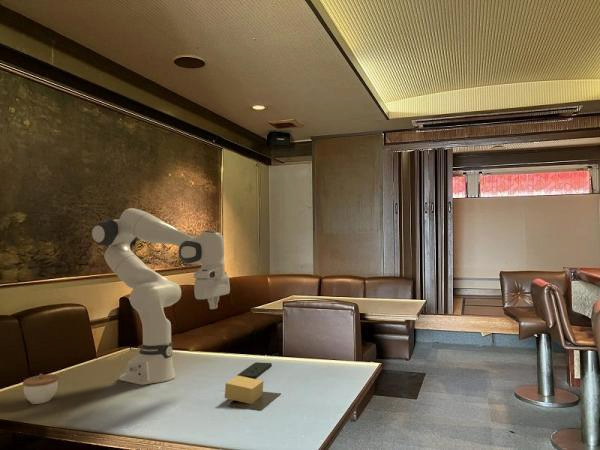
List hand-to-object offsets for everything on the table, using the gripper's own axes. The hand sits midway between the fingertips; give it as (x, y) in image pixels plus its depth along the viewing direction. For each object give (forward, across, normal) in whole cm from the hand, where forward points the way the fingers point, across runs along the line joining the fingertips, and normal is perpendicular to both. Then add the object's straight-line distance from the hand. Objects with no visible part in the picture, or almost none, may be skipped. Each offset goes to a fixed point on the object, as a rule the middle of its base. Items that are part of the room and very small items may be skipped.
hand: (213, 308), depth 168 cm
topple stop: (+29, +10, +21) cm, 37 cm away
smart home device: (+30, -21, +7) cm, 37 cm away
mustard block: (+25, +10, +13) cm, 30 cm away
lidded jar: (+29, +32, -51) cm, 67 cm away
